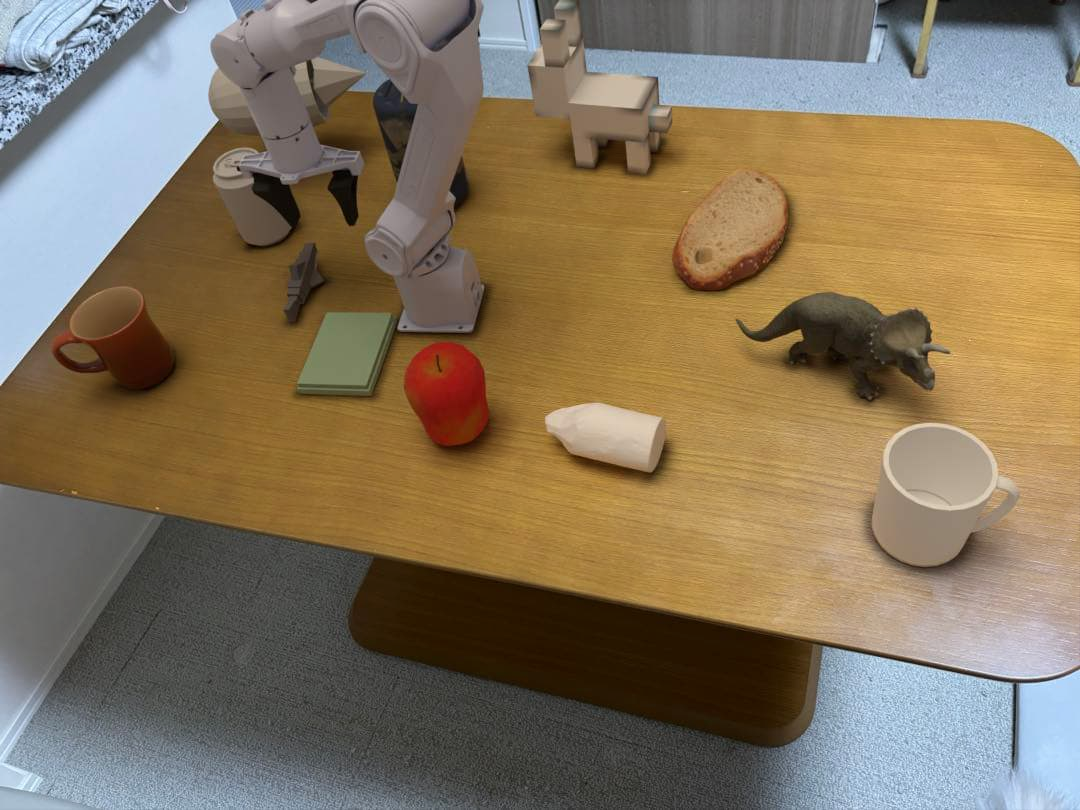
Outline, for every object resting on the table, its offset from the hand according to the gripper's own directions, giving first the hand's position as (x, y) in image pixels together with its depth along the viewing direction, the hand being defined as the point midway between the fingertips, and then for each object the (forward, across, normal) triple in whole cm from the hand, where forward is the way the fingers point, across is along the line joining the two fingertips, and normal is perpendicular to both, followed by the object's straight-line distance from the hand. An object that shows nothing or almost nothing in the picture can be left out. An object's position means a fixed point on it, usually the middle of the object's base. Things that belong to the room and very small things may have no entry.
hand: (324, 221), depth 109 cm
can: (+10, -15, +9) cm, 20 cm away
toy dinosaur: (+10, +60, -14) cm, 63 cm away
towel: (+9, +4, -14) cm, 17 cm away
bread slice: (+10, +48, +8) cm, 50 cm away
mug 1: (+10, -23, -18) cm, 30 cm away
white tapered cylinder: (+10, +36, -26) cm, 46 cm away
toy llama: (+10, +32, +25) cm, 42 cm away
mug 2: (+10, +67, -34) cm, 76 cm away
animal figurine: (+10, -5, -2) cm, 11 cm away
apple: (+10, +20, -24) cm, 33 cm away
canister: (+10, +8, +16) cm, 21 cm away
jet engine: (+10, -14, +25) cm, 30 cm away
